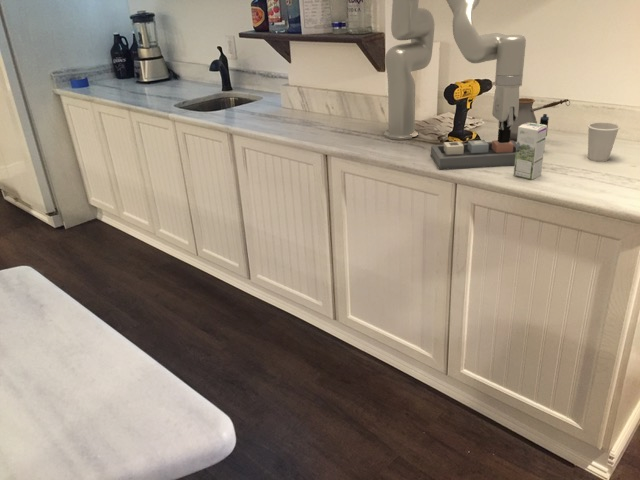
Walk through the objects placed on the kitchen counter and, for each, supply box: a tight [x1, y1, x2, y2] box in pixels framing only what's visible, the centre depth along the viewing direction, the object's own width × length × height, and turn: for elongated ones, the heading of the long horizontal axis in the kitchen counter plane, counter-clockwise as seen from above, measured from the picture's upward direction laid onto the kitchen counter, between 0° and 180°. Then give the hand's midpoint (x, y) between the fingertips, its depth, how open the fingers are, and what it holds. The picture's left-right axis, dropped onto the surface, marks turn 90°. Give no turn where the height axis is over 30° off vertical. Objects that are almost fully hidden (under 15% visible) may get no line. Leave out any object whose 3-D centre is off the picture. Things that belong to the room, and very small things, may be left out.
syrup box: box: [513, 123, 548, 181], centre depth 150 cm, size 6×6×14 cm
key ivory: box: [443, 141, 464, 155], centre depth 166 cm, size 5×5×2 cm
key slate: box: [467, 139, 489, 153], centre depth 166 cm, size 5×5×2 cm
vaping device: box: [539, 113, 549, 148], centre depth 169 cm, size 3×5×12 cm, turn 53°
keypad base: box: [430, 140, 517, 171], centre depth 167 cm, size 14×26×4 cm, turn 90°
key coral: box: [491, 139, 514, 153], centre depth 166 cm, size 5×5×2 cm
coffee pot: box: [510, 97, 571, 141], centre depth 179 cm, size 21×12×15 cm, turn 38°
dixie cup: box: [587, 121, 621, 162], centre depth 160 cm, size 8×8×10 cm
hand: (503, 141), depth 165 cm, fingers closed
